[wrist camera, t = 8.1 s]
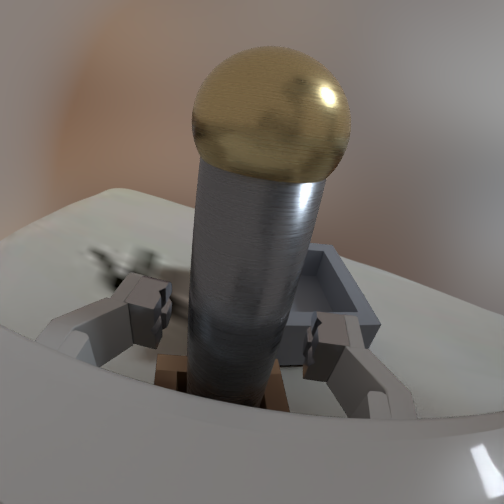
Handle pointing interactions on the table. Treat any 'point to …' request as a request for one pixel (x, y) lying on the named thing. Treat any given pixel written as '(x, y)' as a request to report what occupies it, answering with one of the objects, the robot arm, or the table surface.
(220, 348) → the pin
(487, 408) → the table surface
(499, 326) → the table surface
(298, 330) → the tray
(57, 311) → the table surface
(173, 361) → the collar
